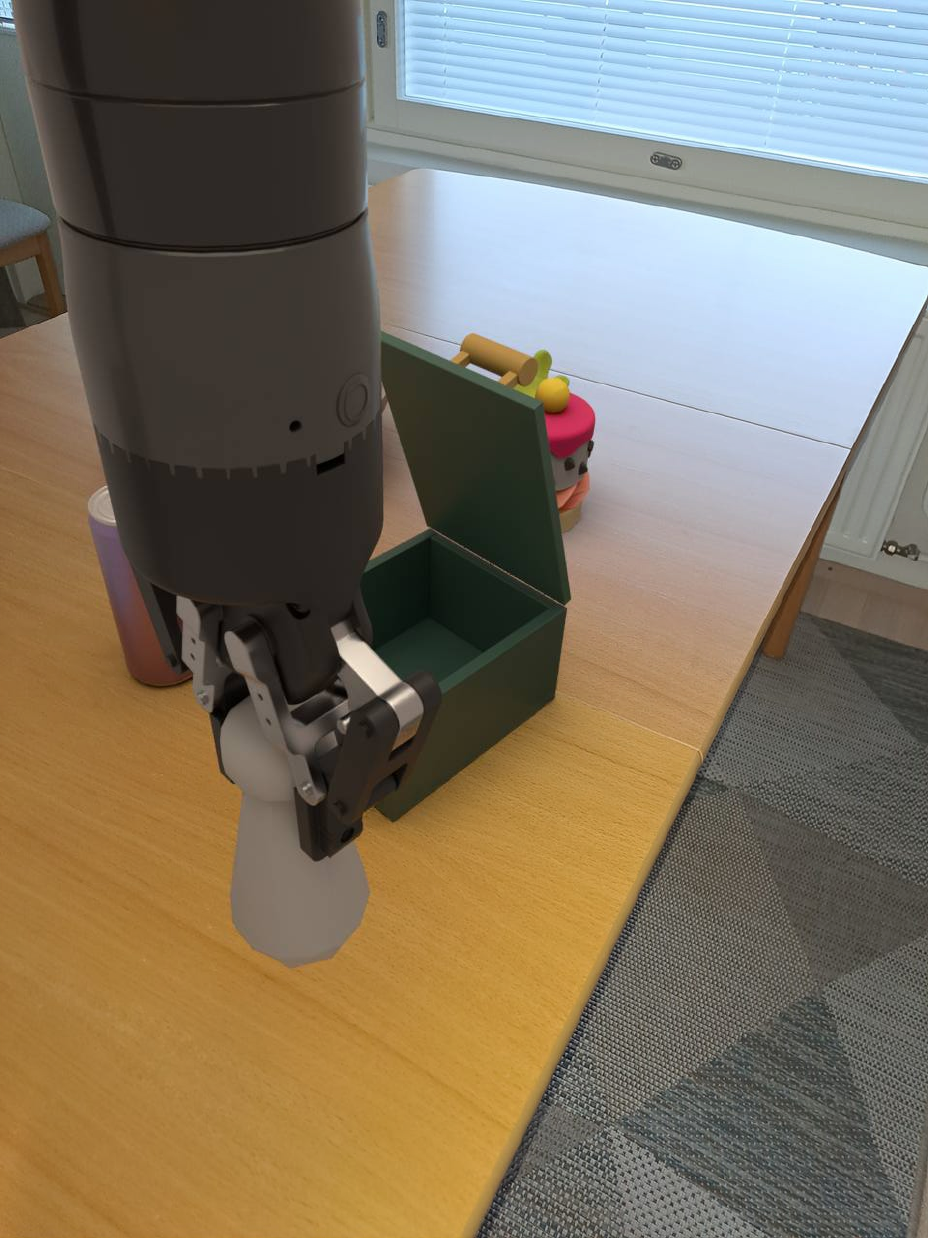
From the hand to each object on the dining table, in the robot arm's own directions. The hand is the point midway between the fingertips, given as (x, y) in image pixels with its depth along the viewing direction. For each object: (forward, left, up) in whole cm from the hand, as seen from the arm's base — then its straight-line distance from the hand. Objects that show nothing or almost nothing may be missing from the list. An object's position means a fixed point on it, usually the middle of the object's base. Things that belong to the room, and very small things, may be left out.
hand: (289, 803), depth 35 cm
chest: (+9, +25, -21) cm, 34 cm away
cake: (+25, +50, -21) cm, 60 cm away
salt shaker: (0, 0, -8) cm, 8 cm away
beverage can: (-9, +33, -21) cm, 40 cm away
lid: (+13, +28, -3) cm, 31 cm away
